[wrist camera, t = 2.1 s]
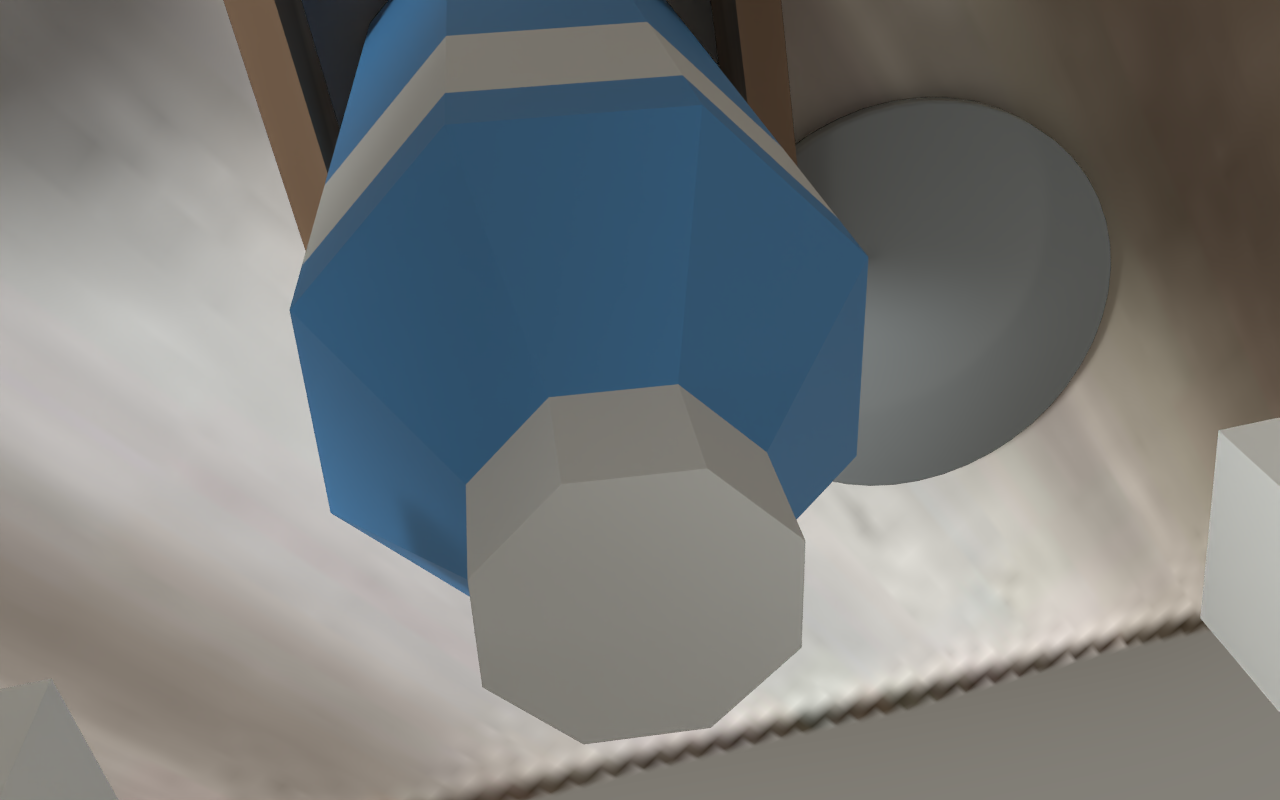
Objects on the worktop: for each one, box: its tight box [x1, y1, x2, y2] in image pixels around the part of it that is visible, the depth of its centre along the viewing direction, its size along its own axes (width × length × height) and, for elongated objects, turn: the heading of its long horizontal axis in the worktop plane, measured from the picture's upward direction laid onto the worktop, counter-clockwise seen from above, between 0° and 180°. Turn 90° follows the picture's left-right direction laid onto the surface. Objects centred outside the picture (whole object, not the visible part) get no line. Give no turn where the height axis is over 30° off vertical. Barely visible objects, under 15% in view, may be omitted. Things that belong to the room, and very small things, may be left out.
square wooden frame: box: [223, 0, 797, 250], centre depth 34 cm, size 14×14×4 cm
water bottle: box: [290, 0, 868, 744], centre depth 25 cm, size 9×9×25 cm
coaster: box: [795, 97, 1111, 486], centre depth 41 cm, size 14×14×1 cm
